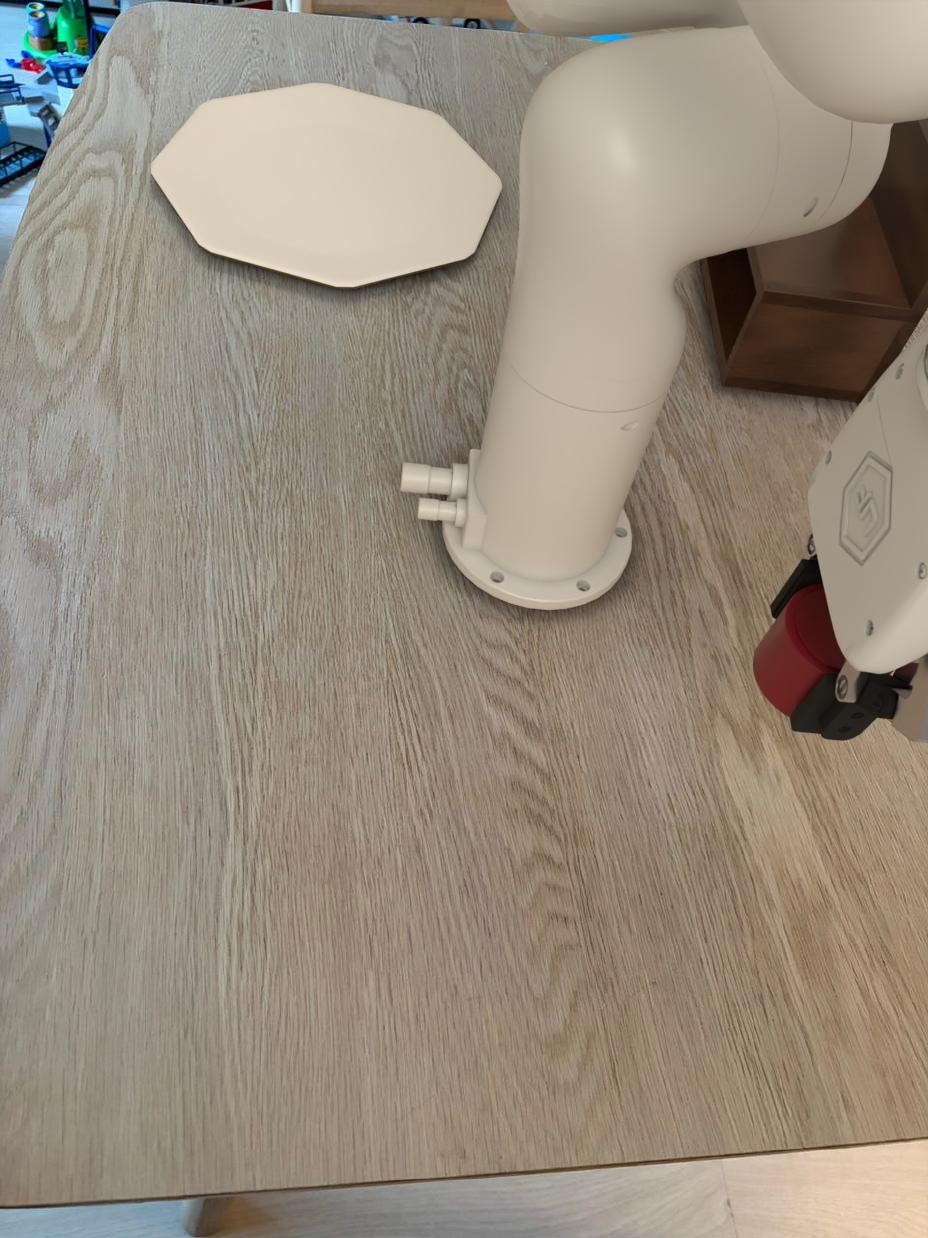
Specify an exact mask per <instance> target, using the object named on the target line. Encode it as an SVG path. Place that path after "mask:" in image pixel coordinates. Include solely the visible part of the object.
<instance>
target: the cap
mask: <svg viewBox="0 0 928 1238" xmlns="http://www.w3.org/2000/svg"><path fill="white" fill-rule="evenodd" d="M774 620H775V621H774V622H773V623H772V624H771V626H770V628H769V629H768V630H767V632H766V633H765V635H763V637H762V639H761V640H760V642H759V643H758V645H757V646H756V648H755V651H754V653H753V657H752V673H753V676H754V679H755V682H756V685H757V687H758V688H759V690H760V692H761V693H762V695H763V696H764V698H765V699H766V700H767V701H768V702H769V703H770V704H771V705H772V706H773V707H774V709H776V710H778V711H779V712H780V713H782V715H784V716H786V717H788V718H790V716H791V715H792V713H793V711H794V710H795V709H796V708H797V707H798V706H799V704H800V703H801V702H802V701H803V700H804V698H805V697H806V696H807V695H808V694H809V692H810V691H811V690H812V689H813V688H814V687H815V685H816V684H817V683H818V682H819V681H820V679H821V678H822V677H823V676H824V675H826V674H828V673H837V674H839V673H840V671H841V669H842V667H843V665H844V663H845V661H846V658H845V657H844V655H843V653H842V652H841V649H840V647H839V645H838V642H837V639H836V636H835V633H834V629H833V625H832V621H831V616H830V612H829V608H828V603H827V599H826V594H825V590H824V585H823V584H815V585H811V586H808V587H805V588H803V589H801V590H800V591H798V592H797V593H796V594H795V595H794V596H793V597H792V598H791V599H790V601H789V602H788V603H787V605H786V606H785V608H784V609H783V611H782V612H781V613H780V615H779V616H778V618H777V619H774ZM894 672H895V670H893V671H891V672H887V673H888V674H890V675H893V673H894Z"/></svg>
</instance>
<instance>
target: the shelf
mask: <svg viewBox="0 0 928 1238" xmlns="http://www.w3.org/2000/svg"><path fill="white" fill-rule="evenodd" d="M699 265H700V269H701V275H702V281H703V287H704V292H705V297H706V302H707V308H708V314H709V319H710V325H711V330H712V336H713V342H714V348H715V352H716V358H717V363H718V369H719V374H720V380H721V385H722V387H726V388H727V387H728V388H735V389H736V388H737V389H743V390H753V391H761V392H770V393H777V394H785V395H787V394H788V395H795V396H802V397H811V398H820V399H828V400H836V401H846V402H853V403H858V404H860V403H861V401H862V400H863V399H864V397H865V396H866V395H867V393H868V392H869V391H870V390H871V388H872V387H873V386H874V384H875V383H876V382H877V381H878V379H879V378H880V377H881V376H882V374H883V373H884V372H885V371H886V370H887V369H888V367H889V366H890V365H891V364H892V363H893V362H894V360H895V359H896V358H897V357H898V356H899V355H900V354H901V353H902V352H903V351H904V349H905V346H906V345H907V343H908V342H909V340H910V339H911V336H912V335H913V334H914V332H915V330H916V328H917V327H918V325H919V324H920V322H921V320H922V318H923V317H924V316H925V314H926V312H927V311H928V118H927V119H921V120H916V121H908V122H900V123H892V125H891V133H890V141H889V147H888V152H887V156H886V159H885V162H884V165H883V168H882V171H881V173H880V176H879V178H878V180H877V182H876V184H875V185H874V187H873V189H872V190H871V192H870V193H869V195H868V196H867V197H866V199H865V200H864V201H863V202H862V203H861V204H860V205H859V206H858V207H857V208H856V209H855V210H854V211H853V212H852V213H850V214H849V215H848V216H846V217H845V218H843V219H842V220H840V221H838V222H837V223H835V224H832V225H830V226H828V227H826V228H823V229H820V230H817V231H814V232H811V233H807V234H804V235H800V236H795V237H791V238H788V239H783V240H779V241H774V242H769V243H765V244H760V245H755V246H751V247H746V248H741V249H737V250H732V251H729V252H726V253H723V254H719V255H714V256H710V257H706V258H703V259H699Z"/></svg>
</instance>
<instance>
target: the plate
mask: <svg viewBox="0 0 928 1238" xmlns="http://www.w3.org/2000/svg"><path fill="white" fill-rule="evenodd" d="M163 147H164V148H163V149H162V150H161V151H160V152H159V153H158V155H156V157H155V158H154V159H153V161H151V163H150V175H151V177H152V179H153V180H154V182H155V184H156V185H157V186H158V188H159V189H160V191H161V192H162V193H163V195H164V197H165V198H166V199H167V200H166V201H168V203H169V205H171V207H172V209H173V210H174V211H175V213H176V214H177V216H178V218H179V219H180V221H181V222H182V224H183V225H184V227H185V228H186V229H187V231H188V232H189V234H190V235H191V237H192V238H193V240H194V241H195V243H196V244H197V246H198V247H199V248H201V249H202V250H204V251H205V252H207V253H209V254H210V255H212V256H214V257H215V256H216V257H218V258H223V259H226V260H230V261H233V262H236V263H240V264H243V265H248V266H251V267H255V268H258V269H261V270H264V271H265V270H266V271H269V272H272V273H276V274H280V275H284V276H286V277H287V276H288V277H290V278H295V279H298V280H302V281H305V282H309V283H313V284H315V285H320V286H323V287H326V288H327V287H328V288H330V289H335V290H356V289H360V288H364V287H367V286H372V285H377V284H379V283H384V282H387V281H392V280H396V279H399V278H403V277H408V276H412V275H415V274H416V275H417V274H419V273H424V272H426V271H428V272H429V271H432V270H436V269H439V268H443V267H447V266H451V265H455V264H459V263H464V262H466V261H467V260H469V259H470V258H471V257H472V256H474V255H475V253H476V252H477V250H478V247H479V244H480V242H481V240H482V237H483V235H484V233H485V230H486V228H487V225H488V223H489V221H490V218H491V216H492V213H493V211H494V209H495V207H496V204H497V202H498V200H499V197H500V195H501V193H502V190H503V184H502V180H501V177H499V175H498V174H497V173H496V172H495V171H494V170H493V169H492V168H491V167H490V165H488V164H487V163H486V161H485V160H484V159H482V157H481V156H480V155H479V154H478V153H477V152H476V151H475V150H474V149H473V148H472V147H471V146H470V145H469V144H468V143H467V141H466V140H465V139H464V138H463V137H462V136H461V134H459V133H458V132H457V131H456V129H454V128H453V126H452V125H451V124H450V123H448V121H447V120H446V119H445V118H444V117H443V116H441V115H439V114H437V113H435V112H434V111H432V110H429V109H426V108H422V107H417V106H414V105H410V104H408V103H407V104H406V103H402V102H399V101H396V100H392V99H388V98H384V97H380V96H376V95H373V94H369V93H366V92H362V91H358V90H355V89H350V88H348V87H343V86H339V85H336V84H332V83H327V82H309V83H302V84H296V85H291V86H283V87H278V88H272V89H266V90H259V91H255V92H254V91H253V92H247V93H242V94H241V93H240V94H235V95H229V96H222V97H217V98H211V99H209V100H207V101H205V102H203V103H201V104H199V105H198V106H197V108H196V109H194V111H193V112H192V114H191V115H190V116H189V117H188V119H187V120H186V121H185V122H184V123H183V124H182V126H181V127H180V128H179V129H178V131H177V132H176V133H175V134H174V135H173V137H172V138H171V139H170V140H169V141H168V142H167V144H165V146H163Z"/></svg>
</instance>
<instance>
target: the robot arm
mask: <svg viewBox="0 0 928 1238" xmlns="http://www.w3.org/2000/svg"><path fill="white" fill-rule="evenodd" d="M506 4H507V5H508V8H510V10H511V11H512V13H513V14H514V16H515V17H516V18H517V20H518V21H519V22H520V23H521V24H522V25H523V26H525V27H526V28H527V29H530V30H531V31H532V32H536V33H538V34H540V35H545V36H549V37H554V38H582V37H583V38H584V37H586V38H587V37H599V36H611V35H621V34H628V33H629V34H630V33H638V32H639V33H640V32H648V31H657V30H665V29H667V30H668V29H678V28H688V27H693V28H694V29H686V30H678V31H670V32H662V33H661V32H660V33H651V34H645V35H637V36H631V37H627V38H621V39H616V40H612V41H609V42H608V41H607V42H605V43H602V44H599V45H596V46H592V47H589V48H587V49H585V50H583V51H581V52H579V53H577V54H575V55H573V56H571V57H569V58H568V59H566V60H564V62H562V63H561V64H559V65H558V66H556V68H554V69H553V70H552V71H551V72H549V74H548V75H547V76H546V77H545V78H544V79H543V80H542V82H541V83H540V84H539V85H538V86H537V88H536V90H535V92H534V93H533V95H532V97H531V99H530V101H529V103H528V105H527V109H526V110H525V111H526V112H525V115H524V119H523V123H522V128H521V136H520V141H519V161H518V162H519V163H518V164H519V219H518V221H519V223H518V224H519V225H518V241H517V252H516V261H515V269H514V276H513V282H512V287H511V294H510V299H509V304H508V309H507V314H506V320H505V323H504V324H505V325H504V329H503V336H502V343H501V347H500V353H499V358H498V362H497V367H496V373H495V377H494V382H493V387H492V391H491V397H490V401H489V406H488V411H487V416H486V421H485V426H484V430H483V435H482V439H481V443H480V444H481V445H480V448H478V449H477V448H471V449H470V450H469V454H468V458H467V459H468V460H467V463H457V462H452V464H451V468H448V467H440V466H431V464H427V463H419V462H410V461H403V462H402V469H401V478H400V487H399V488H400V489H399V492H401V493H411V494H422V495H428V494H433V495H435V494H436V495H443V496H447V498H446V500H440V499H436V498H428V497H419V498H418V502H417V514H416V519H417V520H422V521H423V520H425V521H432V522H433V521H434V522H437V521H441V529H442V531H441V533H442V538H443V542H444V545H445V548H446V550H447V552H448V554H449V556H450V559H451V560H452V562H453V563H454V564H455V565H456V567H457V568H458V570H459V571H460V572H461V573H462V574H463V576H464V577H466V578H467V579H468V580H469V581H470V582H472V583H473V585H475V586H476V587H477V588H479V589H481V590H482V591H484V592H485V593H487V594H489V595H490V596H492V597H493V598H496V599H498V600H501V601H503V602H506V603H508V604H511V605H515V606H519V607H522V608H526V609H533V610H534V609H535V610H543V611H544V610H545V611H552V610H553V611H555V610H567V609H572V608H576V607H581V606H583V605H586V604H589V603H590V602H592V601H595V600H597V599H599V598H600V597H602V596H603V595H605V594H606V593H607V592H609V591H610V590H611V589H612V588H613V587H614V586H615V585H616V583H617V582H618V581H619V580H620V579H621V577H622V575H623V573H624V572H625V569H626V567H627V565H628V562H629V559H630V557H631V553H632V548H633V533H632V526H631V522H630V520H629V517H628V515H627V512H626V510H625V508H624V506H625V504H626V501H627V499H628V496H629V493H630V491H631V489H632V486H633V483H634V481H635V478H636V475H637V473H638V470H639V468H640V465H641V462H642V460H643V458H644V455H645V452H646V451H647V448H648V444H649V442H650V440H651V437H652V434H653V432H654V429H655V427H656V424H657V421H658V420H659V417H660V414H661V411H662V409H663V406H664V404H665V401H666V398H667V396H668V393H669V391H670V389H671V385H672V383H673V381H674V378H675V376H676V372H677V370H678V367H679V365H680V362H681V359H682V356H683V353H684V350H685V346H686V340H687V331H688V330H687V329H688V323H687V317H686V311H685V309H684V306H683V302H682V301H681V298H680V296H679V295H678V293H677V291H676V289H675V283H676V279H677V277H678V275H679V274H680V272H682V270H684V269H685V268H686V267H687V266H688V265H690V264H691V263H694V262H696V261H700V259H703V258H706V257H710V256H714V255H719V254H723V253H726V252H729V251H732V250H737V249H741V248H746V247H751V246H755V245H760V244H765V243H769V242H774V241H779V240H783V239H788V238H791V237H795V236H800V235H804V234H807V233H811V232H814V231H817V230H820V229H823V228H826V227H828V226H830V225H832V224H835V223H837V222H838V221H840V220H842V219H843V218H845V217H846V216H848V215H849V214H850V213H852V212H853V211H854V210H855V209H856V208H857V207H858V206H859V205H860V204H861V203H862V202H863V201H864V200H865V199H866V197H867V196H868V195H869V193H870V192H871V190H872V189H873V187H874V185H875V184H876V182H877V180H878V178H879V176H880V173H881V171H882V168H883V165H884V162H885V159H886V156H887V152H888V147H889V141H890V133H891V128H892V124H893V123H900V122H908V121H916V120H921V119H927V118H928V0H506ZM806 495H807V499H806V500H807V510H808V516H809V521H810V527H811V531H810V532H809V534H808V536H807V538H806V542H805V554H806V556H807V557H808V558H801V559H800V561H799V563H798V564H797V565H796V567H795V568H794V570H793V571H792V572H791V574H790V576H789V577H788V579H787V580H786V582H785V583H784V584H783V586H782V588H781V589H780V590H779V592H778V593H777V594H776V596H775V598H774V599H773V600H772V602H771V604H770V605H769V609H770V614H771V618H773V619H774V620H776V619H777V618H778V616H779V615H780V613H781V612H782V611H783V609H784V608H785V606H786V605H787V603H788V602H789V601H790V599H791V598H792V597H793V596H794V595H795V594H796V593H797V592H798V591H800V590H801V589H803V588H805V587H808V586H811V585H815V584H823V585H824V590H825V594H826V599H827V603H828V608H829V612H830V616H831V621H832V625H833V629H834V633H835V636H836V639H837V642H838V645H839V647H840V649H841V652H842V653H843V655H844V657H845V658H846V661H845V663H844V665H843V667H842V669H841V671H840V673H839V674H837V673H828V674H826V675H824V676H823V677H822V678H821V679H820V681H819V682H818V683H817V684H816V685H815V687H814V688H813V689H812V690H811V691H810V692H809V694H808V695H807V696H806V697H805V698H804V700H803V701H802V702H801V703H800V704H799V706H798V707H797V708H796V709H795V710H794V711H793V713H792V715H791V716H790V717H789V722H790V729H791V730H792V732H794V733H795V732H796V733H806V734H807V733H808V734H814V735H815V734H816V735H820V736H821V738H822V739H825V740H830V741H837V742H839V741H841V742H842V741H850V740H853V739H855V738H856V737H858V736H860V735H862V734H863V733H864V732H865V731H866V730H867V729H868V728H869V727H870V726H871V725H872V724H873V723H874V722H875V720H877V719H882V720H887V721H888V722H889V723H890V724H891V725H890V726H891V727H892V728H894V729H896V731H897V732H899V733H900V734H901V735H902V736H904V738H906V739H907V740H909V741H910V742H913V743H924V744H928V326H926V328H924V329H923V330H922V331H921V332H920V333H919V334H918V335H916V336H915V338H913V340H912V341H911V342H910V343H909V344H908V345H907V346H906V347H905V348H904V349H903V350H902V351H901V353H900V355H899V356H898V357H897V358H896V359H895V360H894V362H893V363H892V364H891V365H890V366H889V367H888V369H887V370H886V371H885V372H884V373H883V374H882V376H881V377H880V378H879V379H878V381H877V382H876V383H875V384H874V386H873V387H872V388H871V390H870V391H869V392H868V393H867V395H866V396H865V397H864V399H863V400H862V401H861V403H858V405H857V407H856V408H855V410H854V411H853V412H852V414H851V415H850V416H849V418H848V420H847V421H846V422H845V424H844V425H843V426H842V427H841V429H840V430H839V432H838V433H837V434H836V436H835V438H834V439H833V441H832V442H831V444H830V445H829V446H828V448H827V449H826V451H825V452H824V454H823V456H822V457H821V459H820V460H819V462H818V464H817V465H816V467H815V469H814V471H813V472H812V474H811V476H810V478H809V480H808V484H807V494H806ZM893 670H894V671H893ZM891 671H893V673H892V674H891V675H890V674H888V673H887V672H891Z"/></svg>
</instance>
